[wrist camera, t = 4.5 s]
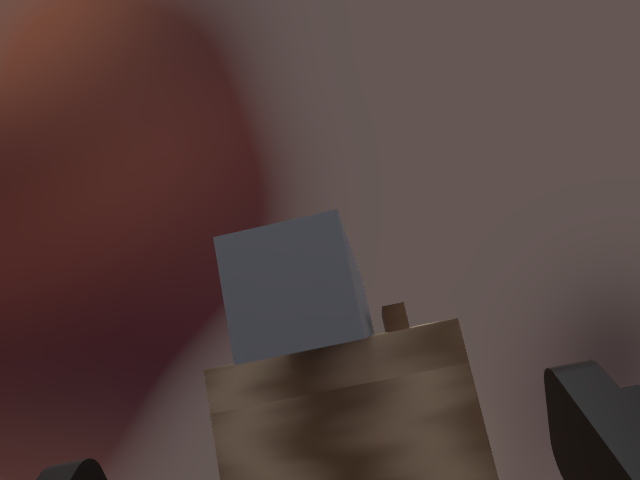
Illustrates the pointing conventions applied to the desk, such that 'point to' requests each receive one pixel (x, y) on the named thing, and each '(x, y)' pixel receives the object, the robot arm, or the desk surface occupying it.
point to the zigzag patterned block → (355, 410)
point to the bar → (291, 288)
